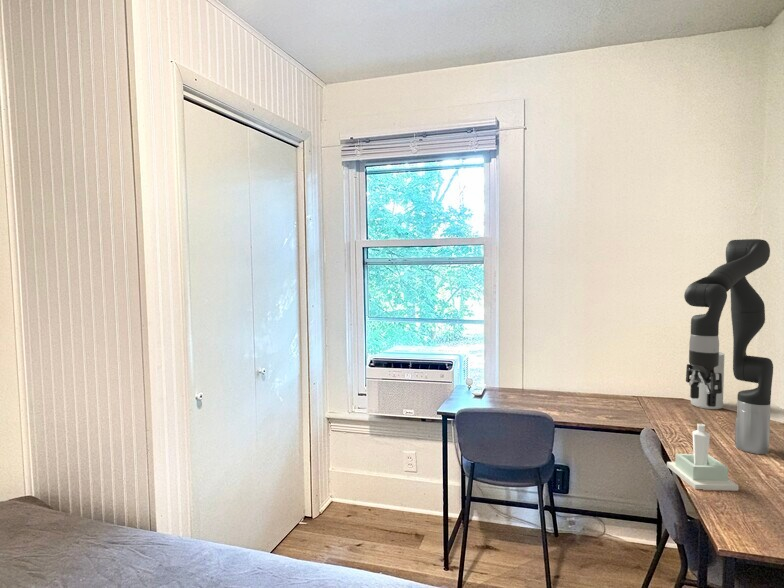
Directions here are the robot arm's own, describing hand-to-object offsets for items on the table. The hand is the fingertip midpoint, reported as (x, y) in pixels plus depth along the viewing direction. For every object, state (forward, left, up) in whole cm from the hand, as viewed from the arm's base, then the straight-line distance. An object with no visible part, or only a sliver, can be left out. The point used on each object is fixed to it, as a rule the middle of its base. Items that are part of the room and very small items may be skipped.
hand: (702, 402), depth 142 cm
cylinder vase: (-77, +46, -24) cm, 93 cm away
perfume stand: (0, 0, -24) cm, 24 cm away
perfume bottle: (0, 0, -22) cm, 22 cm away
